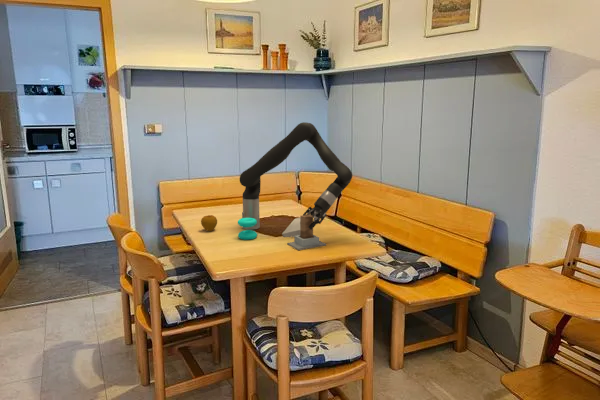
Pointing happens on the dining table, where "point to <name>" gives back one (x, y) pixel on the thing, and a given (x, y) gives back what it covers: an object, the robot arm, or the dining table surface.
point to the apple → (209, 222)
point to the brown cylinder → (306, 226)
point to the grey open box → (306, 243)
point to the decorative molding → (292, 229)
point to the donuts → (247, 233)
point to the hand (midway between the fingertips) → (305, 226)
